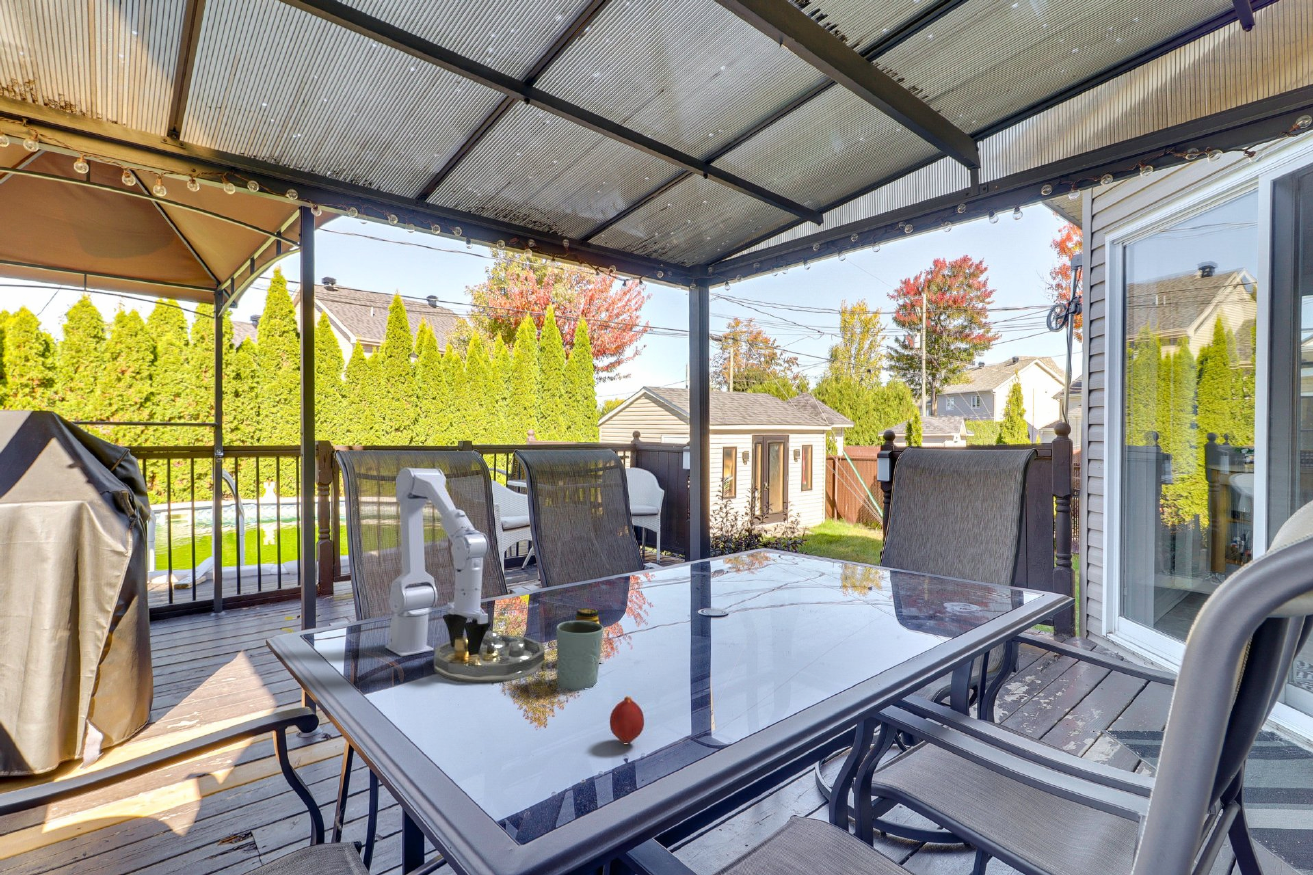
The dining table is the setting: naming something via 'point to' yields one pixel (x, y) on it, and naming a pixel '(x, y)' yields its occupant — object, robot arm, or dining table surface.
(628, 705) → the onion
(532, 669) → the tray
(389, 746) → the dining table surface
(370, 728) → the dining table surface
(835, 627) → the dining table surface
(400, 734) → the dining table surface
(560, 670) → the green cup
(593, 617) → the condiment
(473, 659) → the brass octagonal knob
